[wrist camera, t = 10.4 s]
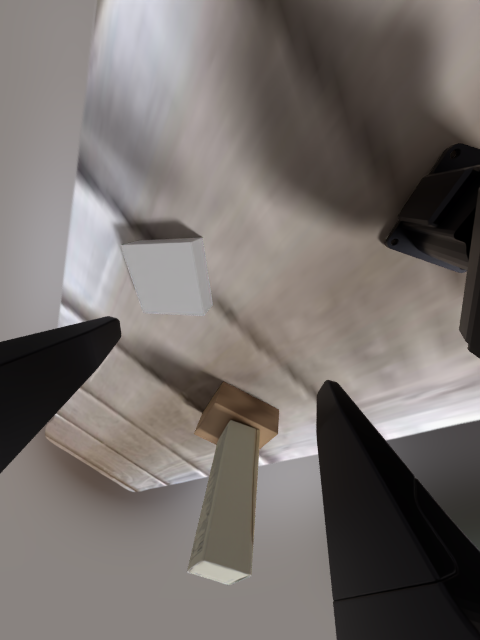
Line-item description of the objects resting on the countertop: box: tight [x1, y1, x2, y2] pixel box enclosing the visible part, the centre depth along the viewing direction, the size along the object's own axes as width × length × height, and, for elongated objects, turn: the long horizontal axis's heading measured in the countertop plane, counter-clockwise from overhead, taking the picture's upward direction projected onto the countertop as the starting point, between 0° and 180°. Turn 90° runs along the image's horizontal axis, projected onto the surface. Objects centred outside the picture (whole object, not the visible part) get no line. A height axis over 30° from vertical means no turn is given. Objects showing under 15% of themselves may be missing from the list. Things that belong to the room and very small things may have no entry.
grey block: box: [120, 237, 213, 316], centre depth 21 cm, size 7×7×3 cm
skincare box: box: [187, 420, 260, 585], centre depth 22 cm, size 6×4×12 cm
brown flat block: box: [194, 381, 279, 449], centre depth 30 cm, size 9×9×4 cm
